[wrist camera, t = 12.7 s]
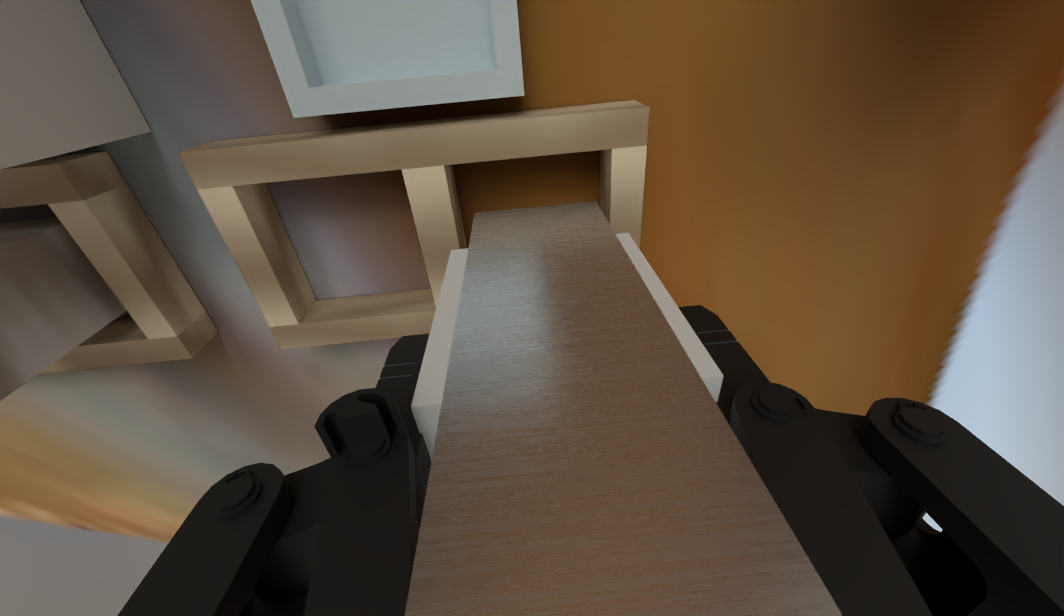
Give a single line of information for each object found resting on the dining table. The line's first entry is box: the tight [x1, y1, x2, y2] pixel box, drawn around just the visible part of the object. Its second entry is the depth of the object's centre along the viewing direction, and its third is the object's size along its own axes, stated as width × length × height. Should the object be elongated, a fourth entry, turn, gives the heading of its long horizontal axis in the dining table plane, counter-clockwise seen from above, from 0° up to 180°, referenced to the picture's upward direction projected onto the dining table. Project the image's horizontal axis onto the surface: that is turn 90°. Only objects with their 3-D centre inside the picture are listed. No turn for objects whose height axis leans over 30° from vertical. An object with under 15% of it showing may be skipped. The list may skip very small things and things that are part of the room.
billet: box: [405, 201, 843, 616], centre depth 10 cm, size 4×4×12 cm
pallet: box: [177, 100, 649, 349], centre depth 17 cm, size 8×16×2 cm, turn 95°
